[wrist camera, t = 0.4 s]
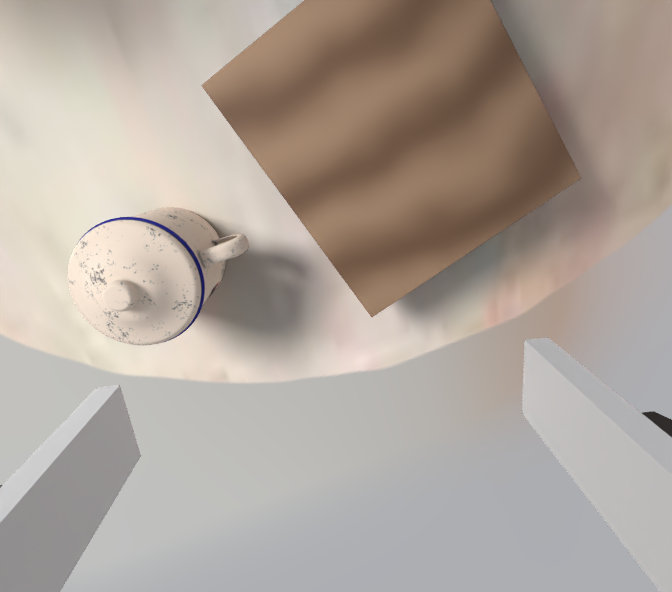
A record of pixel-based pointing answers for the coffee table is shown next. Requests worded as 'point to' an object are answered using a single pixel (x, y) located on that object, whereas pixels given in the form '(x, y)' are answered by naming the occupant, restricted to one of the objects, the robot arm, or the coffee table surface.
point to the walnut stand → (395, 133)
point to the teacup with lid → (148, 273)
